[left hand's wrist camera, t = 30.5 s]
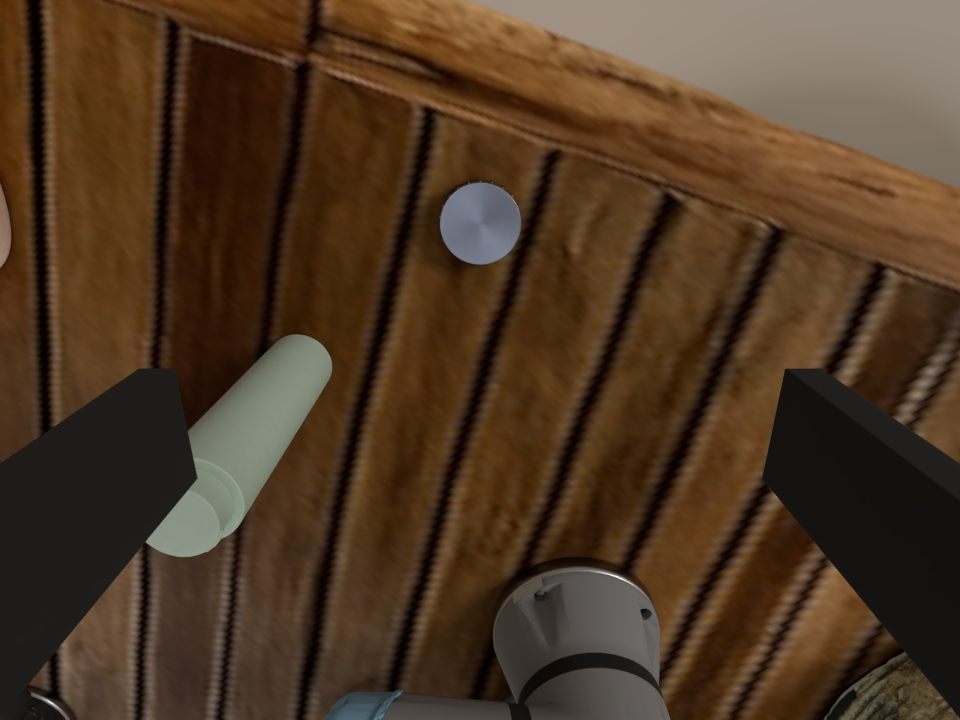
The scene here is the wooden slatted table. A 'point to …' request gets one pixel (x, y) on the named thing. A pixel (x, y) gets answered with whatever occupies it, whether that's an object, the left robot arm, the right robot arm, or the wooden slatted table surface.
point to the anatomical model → (4, 229)
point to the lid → (480, 222)
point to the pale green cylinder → (243, 444)
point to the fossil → (892, 696)
